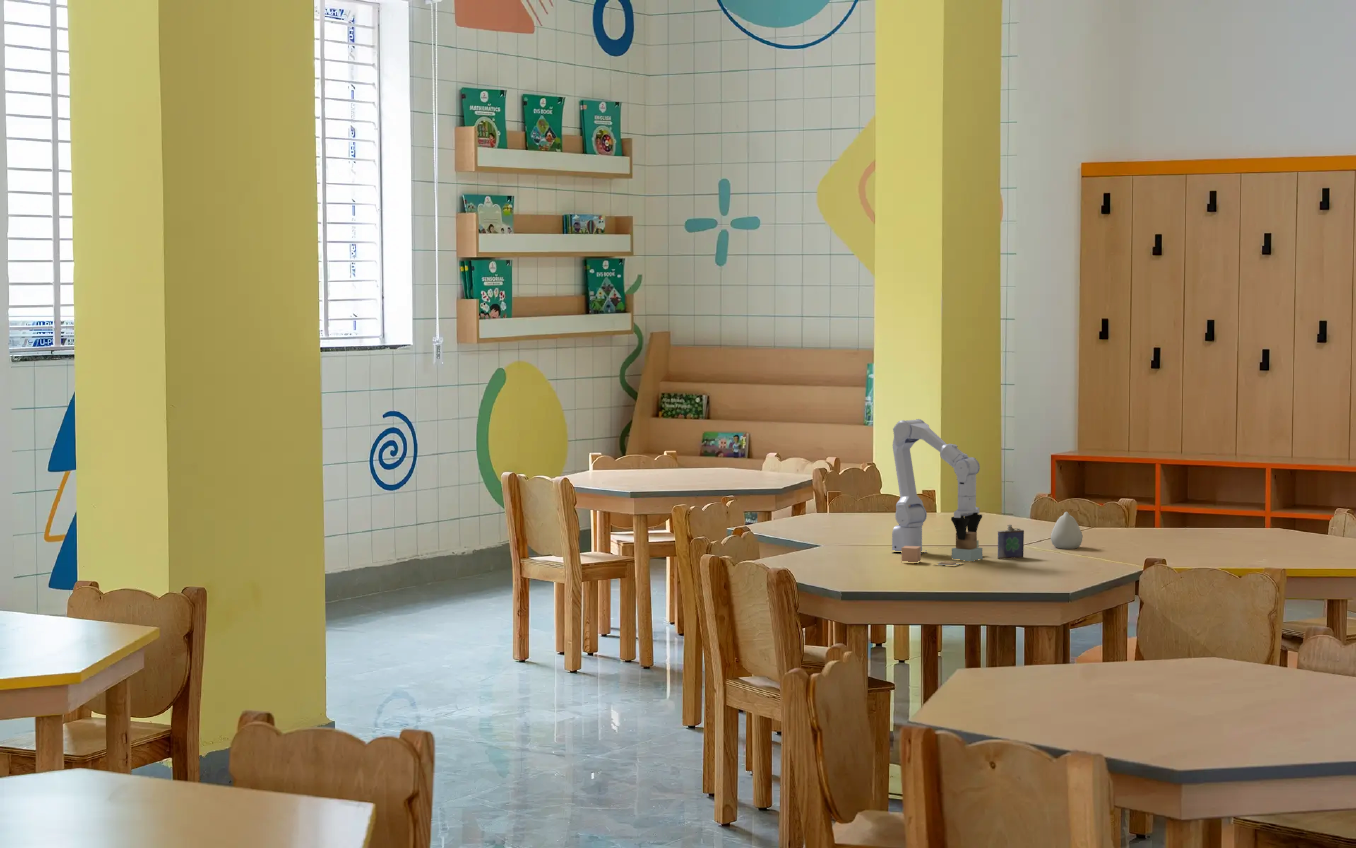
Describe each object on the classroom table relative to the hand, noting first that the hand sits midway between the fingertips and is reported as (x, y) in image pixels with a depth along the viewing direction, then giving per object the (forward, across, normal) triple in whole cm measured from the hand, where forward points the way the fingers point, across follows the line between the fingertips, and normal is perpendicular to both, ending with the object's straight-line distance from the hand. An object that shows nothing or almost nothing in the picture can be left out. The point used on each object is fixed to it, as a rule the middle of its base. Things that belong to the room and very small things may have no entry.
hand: (966, 538), depth 463 cm
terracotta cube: (+7, -15, +12) cm, 20 cm away
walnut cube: (+3, 0, 0) cm, 3 cm away
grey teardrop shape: (+7, +43, -16) cm, 46 cm away
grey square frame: (+7, -13, 0) cm, 15 cm away
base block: (+7, 0, 0) cm, 7 cm away
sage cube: (+7, +9, +4) cm, 12 cm away
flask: (+7, +11, -10) cm, 17 cm away
